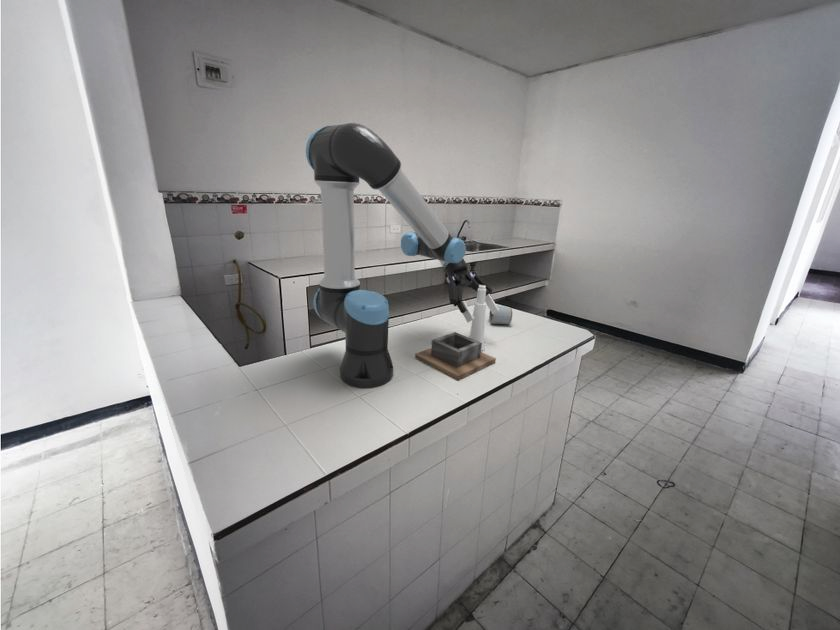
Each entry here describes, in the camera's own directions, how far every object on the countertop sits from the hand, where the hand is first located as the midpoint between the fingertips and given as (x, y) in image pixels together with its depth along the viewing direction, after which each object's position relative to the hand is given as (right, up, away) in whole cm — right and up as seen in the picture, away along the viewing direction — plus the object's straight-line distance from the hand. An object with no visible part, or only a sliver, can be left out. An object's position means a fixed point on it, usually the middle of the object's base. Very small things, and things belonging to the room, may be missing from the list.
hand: (483, 316), depth 121 cm
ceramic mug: (+11, -3, +30) cm, 33 cm away
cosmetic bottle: (-2, -11, +5) cm, 12 cm away
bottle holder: (-10, -14, -5) cm, 18 cm away
